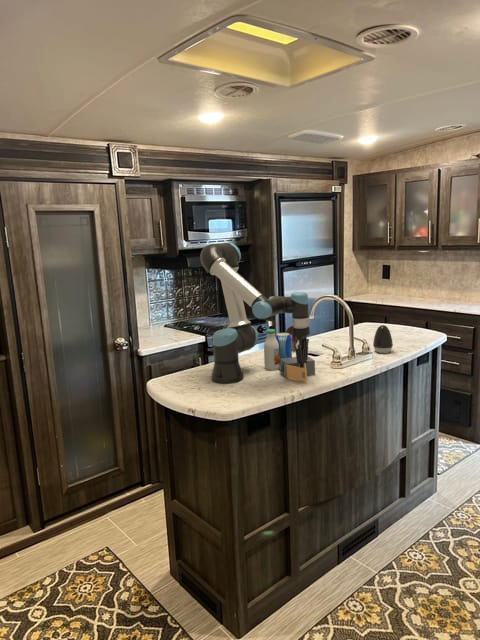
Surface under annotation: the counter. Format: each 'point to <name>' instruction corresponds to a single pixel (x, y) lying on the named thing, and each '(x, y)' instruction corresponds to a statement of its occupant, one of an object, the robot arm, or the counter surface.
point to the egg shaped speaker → (383, 340)
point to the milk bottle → (271, 351)
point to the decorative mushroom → (290, 331)
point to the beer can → (284, 345)
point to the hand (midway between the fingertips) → (303, 376)
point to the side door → (295, 372)
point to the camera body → (293, 362)
